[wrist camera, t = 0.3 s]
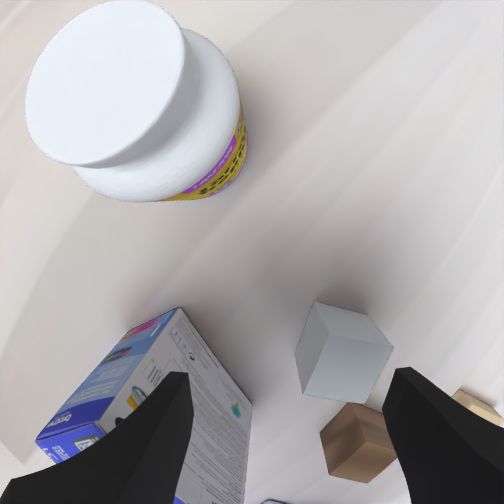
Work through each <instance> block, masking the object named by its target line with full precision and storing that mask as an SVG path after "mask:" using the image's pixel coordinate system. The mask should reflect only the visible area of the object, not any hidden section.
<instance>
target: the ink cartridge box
mask: <svg viewBox="0 0 504 504" xmlns="http://www.w3.org/2000/svg"><path fill="white" fill-rule="evenodd" d="M170 371H176V372H188V374H189V381H190V388H191V395H192V401H193V408H194V419H193V426H192V433H191V438H190V442H189V446H188V449H187V453H186V456H185V460H184V463H183V467H182V470H181V474H180V477H179V481H178V484H177V488H176V492H175V497H174V503H173V504H243V503H244V493H245V482H246V472H247V462H248V450H249V440H250V429H251V418H252V404H251V403H250V401H249V400H248V399H247V398H246V396H245V395H244V394H243V393H242V391H241V390H240V389H239V387H238V386H237V385H236V384H235V382H234V381H233V380H232V378H231V377H230V376H229V374H228V373H227V372H226V370H225V369H224V368H223V366H222V365H221V364H220V362H219V361H218V360H217V358H216V357H215V356H214V354H213V353H212V351H211V350H210V349H209V347H208V346H207V345H206V343H205V342H204V340H203V339H202V338H201V336H200V335H199V333H198V332H197V331H196V329H195V328H194V326H193V325H192V323H191V322H190V321H189V319H188V318H187V316H186V315H185V313H184V312H183V310H182V309H181V308H176V309H174V310H172V311H170V312H168V313H166V314H163V315H161V316H159V317H157V318H155V319H153V320H151V321H149V322H147V323H145V324H143V325H141V326H139V327H137V328H135V329H133V330H131V331H129V332H128V333H126V335H125V336H124V337H123V338H122V339H121V340H120V341H119V343H118V344H117V345H116V346H115V347H114V348H113V349H112V350H111V352H110V353H109V354H108V355H107V356H106V357H105V358H104V359H103V360H102V362H101V363H100V364H99V365H98V366H97V367H96V368H95V369H94V371H93V372H92V373H91V374H90V375H89V376H88V377H87V378H86V380H85V381H84V382H83V383H82V384H81V385H80V386H79V388H78V389H77V390H76V391H75V392H74V393H73V394H72V395H71V396H70V398H69V399H68V400H67V401H66V402H65V403H64V405H63V406H62V407H61V408H60V409H59V411H58V412H57V413H56V414H55V416H54V417H53V418H52V419H51V420H50V422H49V423H48V424H47V425H46V426H45V427H44V429H43V430H42V431H41V432H40V434H39V435H38V436H37V438H36V440H35V442H36V444H37V445H38V446H39V447H40V448H41V449H42V450H43V451H44V452H45V453H46V454H47V455H48V456H49V457H50V458H51V459H52V460H53V461H54V462H55V463H56V464H58V463H60V462H62V461H64V460H66V459H68V458H70V457H72V456H74V455H76V454H77V453H79V452H81V451H82V450H84V449H86V448H87V447H89V446H90V445H92V444H93V443H95V442H96V441H98V440H99V439H101V438H102V437H103V436H105V435H106V434H107V433H109V432H110V431H111V430H112V429H114V428H115V427H116V426H117V425H118V424H119V423H121V422H122V421H123V420H124V419H125V418H126V417H127V416H128V415H129V414H131V413H132V412H133V411H134V410H135V409H136V408H137V407H138V406H139V405H140V404H141V403H142V402H143V401H144V400H145V399H146V398H147V396H148V395H149V394H150V393H151V392H152V391H153V390H154V389H155V388H156V387H157V386H158V384H159V383H160V382H161V381H162V380H163V379H164V377H165V376H166V375H167V374H168V373H169V372H170Z"/></svg>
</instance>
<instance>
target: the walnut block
mask: <svg viewBox="0 0 504 504" xmlns="http://www.w3.org/2000/svg"><path fill="white" fill-rule="evenodd" d="M320 437H321V441H322V446H323V450H324V454H325V459H326V463H327V468H328V472H329V475H331V476H335V477H340V478H344V479H348V480H353V481H358V482H363V483H368V482H370V481H371V480H372V479H373V478H375V477H376V476H377V475H378V474H379V473H381V472H382V471H383V470H384V469H385V468H386V467H387V466H389V465H390V464H391V463H392V462H393V461H394V460H395V459H396V458H397V454H396V452H395V449H394V447H393V444H392V442H391V439H390V437H389V434H388V431H387V427H386V424H385V420H384V415H383V413H380V412H377V411H375V410H372V409H370V408H368V407H365V406H363V405H360V404H358V403H353V402H348V403H347V404H346V405H345V406H344V407H343V408H342V409H341V411H340V412H339V413H338V414H337V415H336V416H335V417H334V418H333V419H332V420H331V421H330V422H329V423H328V424H327V425H326V426H325V427H324V428H323V429H322V430H321V431H320Z"/></svg>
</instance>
